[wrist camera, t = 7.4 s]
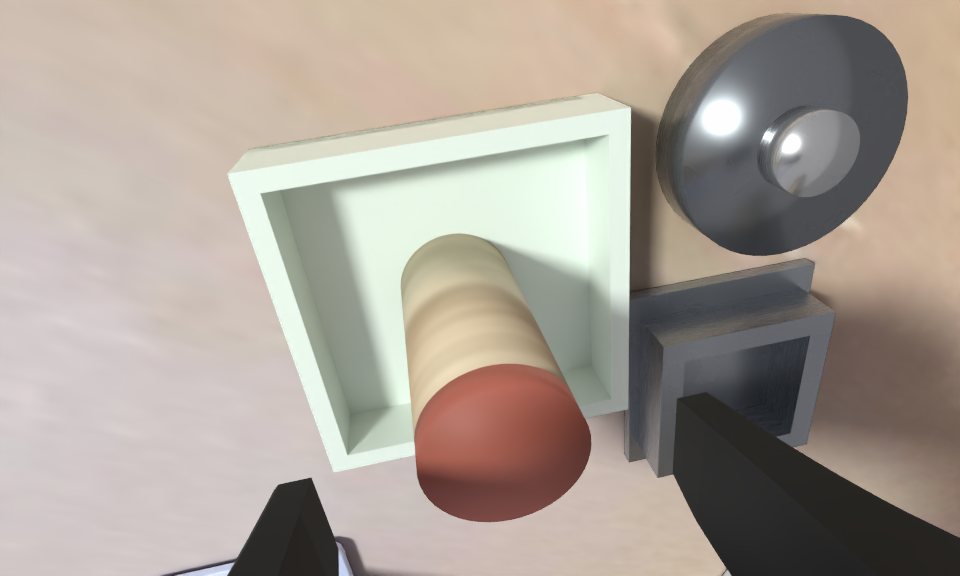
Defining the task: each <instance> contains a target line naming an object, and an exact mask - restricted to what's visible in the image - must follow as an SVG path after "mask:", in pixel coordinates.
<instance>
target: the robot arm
mask: <svg viewBox="0 0 960 576" xmlns="http://www.w3.org/2000/svg"><path fill="white" fill-rule="evenodd" d="M673 474H674V476H675V479H676V481H677V483H678V485H679V487H680V489H681V491H682V493H683V495H684V497H685V499H686V501H687V503H688V505H689V507H690V509H691V511H692V513H693V515H694V517H695V519H696V521H697V523H698V524H699V526H700V527H701V529H702V531H703V532H704V534H705V535H706V537H707V538H708V540H709V542H710V543H711V545H712V546H713V548H714V549H715V551H716V553H717V554H718V556H719V557H720V559H721V560H722V562H723V563H724V565H725V567H726V568H727V570H728V571H729V573H730V574H731V576H960V538H959V537H956V536H954V535H952V534H950V533H948V532H946V531H944V530H942V529H940V528H938V527H936V526H934V525H932V524H930V523H928V522H926V521H924V520H922V519H920V518H918V517H915V516H913V515H911V514H909V513H907V512H905V511H903V510H902V509H900V508H898V507H896V506H894V505H892V504H890V503H888V502H886V501H884V500H882V499H881V498H879V497H877V496H875V495H873V494H872V493H870V492H868V491H866V490H864V489H863V488H861V487H859V486H857V485H855V484H854V483H852V482H850V481H848V480H846V479H845V478H843V477H841V476H839V475H838V474H836V473H834V472H833V471H831V470H829V469H827V468H826V467H824V466H822V465H821V464H819V463H817V462H816V461H814V460H812V459H811V458H809V457H807V456H806V455H804V454H802V453H801V452H799V451H798V450H796V449H794V448H793V447H791V446H790V445H788V444H786V443H785V442H783V441H782V440H780V439H778V438H777V437H775V436H774V435H772V434H771V433H769V432H767V431H766V430H764V429H763V428H761V427H760V426H758V425H757V424H755V423H753V422H752V421H750V420H749V419H747V418H746V417H744V416H743V415H741V414H740V413H738V412H737V411H735V410H734V409H732V408H730V407H729V406H727V405H726V404H724V403H723V402H721V401H720V400H718V399H716V398H715V397H713V396H712V395H710V394H708V393H707V392H704V393H700V394H695V395H690V396H686V397H681V398H677V406H676V423H675V439H674V456H673ZM176 576H354V575H353V573H352V570H351V568H350V565H349V562H348V560H347V557H346V554H345V552H344V549H343V547H342V545H341V544H340V543H338V542H336V541H335V538H334V536H333V533H332V530H331V528H330V525H329V523H328V520H327V517H326V515H325V512H324V510H323V507H322V504H321V502H320V499H319V496H318V494H317V491H316V489H315V486H314V483H313V481H312V478H307V479H303V480H298V481H293V482H289V483H284V484H280V485H278V486H277V487H276V489H275V490H274V492H273V493H272V495H271V497H270V499H269V501H268V503H267V505H266V506H265V508H264V510H263V512H262V514H261V516H260V518H259V520H258V521H257V523H256V525H255V527H254V529H253V531H252V532H251V534H250V536H249V538H248V540H247V541H246V543H245V545H244V547H243V549H242V550H241V552H240V554H239V556H238V557H237V559H236V561H235V562H234V563H229V564H225V565H220V566H216V567H211V568H207V569H202V570H198V571H194V572H189V573H185V574H180V575H176Z"/></svg>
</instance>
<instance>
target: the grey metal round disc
mask: <svg viewBox="0 0 960 576" xmlns="http://www.w3.org/2000/svg"><path fill="white" fill-rule="evenodd" d="M907 104H908V90H907V80H906V75H905V70H904V67H903V64H902V62H901V59H900V56H899V54H898V53H897V51H896V49H895V48H894V46H893V44H892V43H891V42H890V41H889V40H888V39H887V37H886V36H885V35H884V34H883V33H881V32H880V31H879V30H878V29H876V28H875V27H874V26H872V25H870V24H868V23H866V22H864V21H862V20H859V19H855V18H852V17H848V16H839V15H821V14H791V13H786V14H773V15H769V16H764V17H760V18H757V19H754V20H751V21H749V22H746V23H744V24H742V25H740V26H738V27H736V28H734V29H732V30H730V31H729V32H727V33H726V34H724V35H723V36H721V37H720V38H719V39H717V40H716V41H714V42H713V43H712V44H711V45H710V46H709V47H708V48H706V49H705V50H704V51H703V52H702V53H701V54H700V55H699V56H698V57H697V59H696V60H695V61H694V62H693V63H692V64H691V65H690V66H689V68H688V69H687V71H686V72H685V73H684V75H683V76H682V77H681V79H680V80H679V82H678V84H677V85H676V87H675V89H674V90H673V92H672V94H671V96H670V98H669V101H668V103H667V105H666V107H665V110H664V113H663V116H662V119H661V122H660V126H659V131H658V136H657V144H656V168H657V174H658V179H659V183H660V186H661V189H662V192H663V194H664V196H665V198H666V200H667V202H668V203H669V204H670V206H671V207H672V209H673V210H674V211H675V212H676V213H677V214H678V215H679V216H680V217H681V218H682V219H683V220H685V221H686V222H687V223H689V224H690V225H691V226H693V227H694V228H696V229H697V230H698V231H700V232H701V233H703V234H704V235H705V236H707V237H708V238H710V239H711V240H712V241H714V242H715V243H717V244H718V245H719V246H721V247H724V248H726V249H728V250H730V251H733V252H736V253H740V254H745V255H752V256H767V255H775V254H781V253H785V252H789V251H792V250H795V249H798V248H800V247H803V246H806V245H808V244H810V243H812V242H814V241H816V240H818V239H820V238H821V237H823V236H824V235H826V234H828V233H829V232H831V231H832V230H834V229H835V228H836V227H838V226H839V225H840V224H842V223H843V222H844V221H845V220H846V219H848V218H849V217H850V216H851V215H852V214H853V213H854V212H855V211H856V210H857V209H858V208H859V207H860V206H861V205H862V204H863V203H864V202H865V201H866V200H867V198H868V197H869V196H870V194H871V193H872V192H873V191H874V189H875V188H876V187H877V185H878V184H879V182H880V181H881V179H882V178H883V176H884V174H885V173H886V171H887V169H888V167H889V165H890V163H891V162H892V160H893V158H894V155H895V153H896V150H897V148H898V146H899V143H900V140H901V136H902V133H903V130H904V125H905V120H906V115H907Z"/></svg>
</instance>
